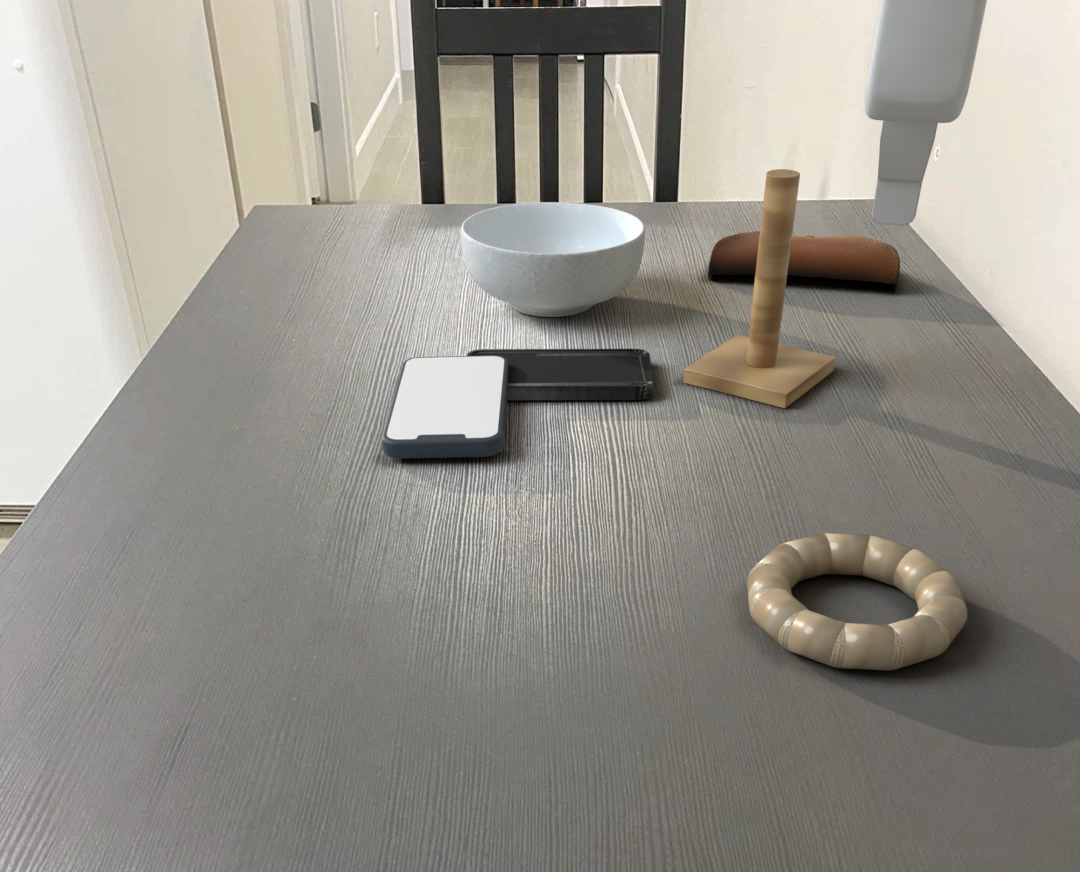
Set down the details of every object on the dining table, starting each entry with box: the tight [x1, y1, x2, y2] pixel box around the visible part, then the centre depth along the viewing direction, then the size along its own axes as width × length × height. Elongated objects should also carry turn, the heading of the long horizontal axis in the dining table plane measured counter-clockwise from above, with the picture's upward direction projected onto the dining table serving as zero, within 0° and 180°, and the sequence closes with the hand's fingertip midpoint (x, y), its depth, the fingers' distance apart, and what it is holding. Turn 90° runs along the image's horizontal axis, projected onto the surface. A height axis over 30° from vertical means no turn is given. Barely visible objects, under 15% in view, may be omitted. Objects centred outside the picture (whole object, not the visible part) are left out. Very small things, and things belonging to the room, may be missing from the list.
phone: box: [466, 348, 654, 401], centre depth 88 cm, size 8×1×15 cm
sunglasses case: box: [707, 230, 901, 291], centre depth 106 cm, size 18×7×7 cm
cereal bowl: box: [460, 201, 646, 318], centre depth 100 cm, size 17×17×7 cm
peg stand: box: [683, 168, 837, 409], centre depth 84 cm, size 9×9×15 cm
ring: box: [746, 532, 968, 672], centre depth 61 cm, size 12×12×2 cm
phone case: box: [381, 355, 509, 460], centre depth 83 cm, size 9×2×16 cm
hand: (897, 192), depth 50 cm, fingers open, 8 cm apart
